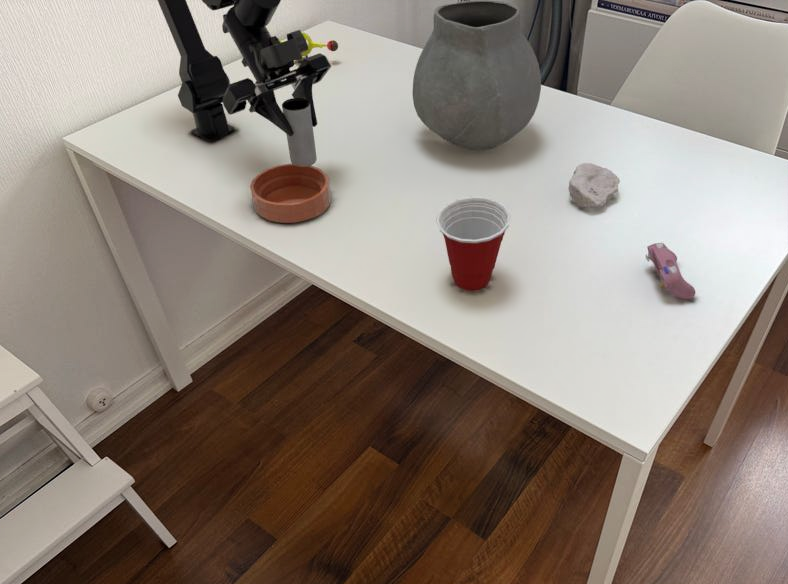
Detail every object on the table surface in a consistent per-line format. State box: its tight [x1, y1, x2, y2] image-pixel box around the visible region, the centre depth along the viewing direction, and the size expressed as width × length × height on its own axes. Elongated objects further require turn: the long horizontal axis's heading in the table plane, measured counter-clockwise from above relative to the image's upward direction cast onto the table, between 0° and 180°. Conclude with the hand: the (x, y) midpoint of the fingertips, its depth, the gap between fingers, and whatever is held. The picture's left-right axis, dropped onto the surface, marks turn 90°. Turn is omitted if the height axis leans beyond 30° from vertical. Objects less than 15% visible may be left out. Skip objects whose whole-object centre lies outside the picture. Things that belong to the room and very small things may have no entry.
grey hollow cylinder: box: [281, 97, 318, 167], centre depth 113 cm, size 4×4×10 cm
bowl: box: [249, 163, 332, 224], centre depth 119 cm, size 14×14×4 cm
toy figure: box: [271, 31, 339, 63], centre depth 161 cm, size 18×6×7 cm, turn 80°
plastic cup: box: [435, 196, 512, 292], centre depth 101 cm, size 11×11×12 cm
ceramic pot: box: [411, 0, 542, 151], centre depth 128 cm, size 24×24×25 cm
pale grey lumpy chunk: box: [568, 162, 621, 209], centre depth 120 cm, size 9×6×10 cm
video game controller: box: [645, 241, 696, 300], centre depth 103 cm, size 10×5×7 cm, turn 5°
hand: (304, 130), depth 112 cm, fingers closed on grey hollow cylinder, 4 cm apart
